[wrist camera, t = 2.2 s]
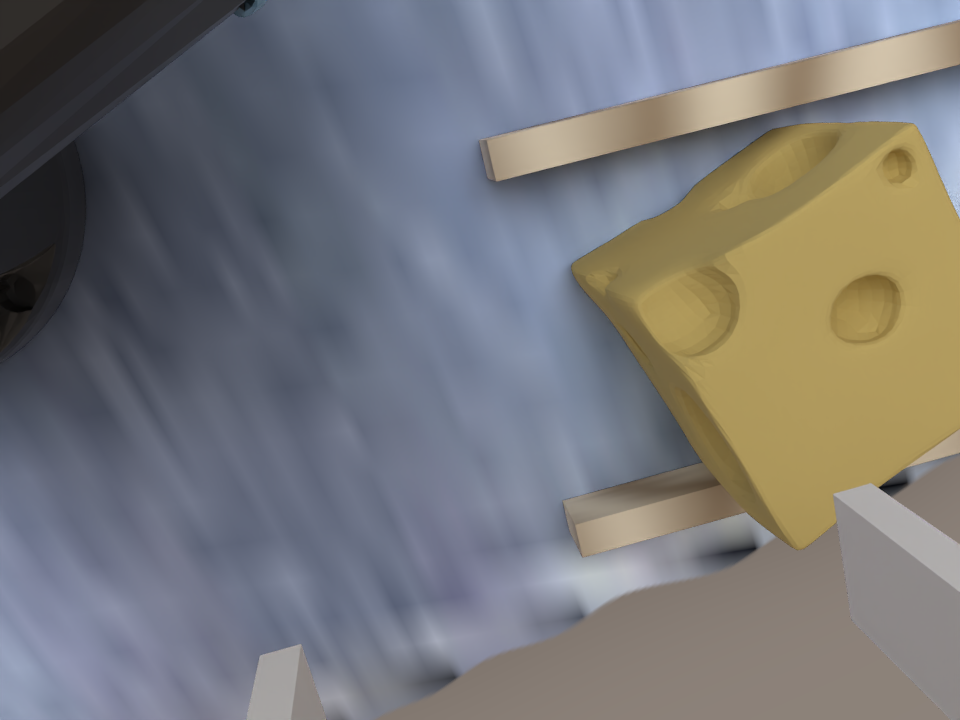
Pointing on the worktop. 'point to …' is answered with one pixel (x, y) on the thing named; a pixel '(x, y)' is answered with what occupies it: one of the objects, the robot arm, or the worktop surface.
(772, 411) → the cheese
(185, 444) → the worktop surface
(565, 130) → the channel
